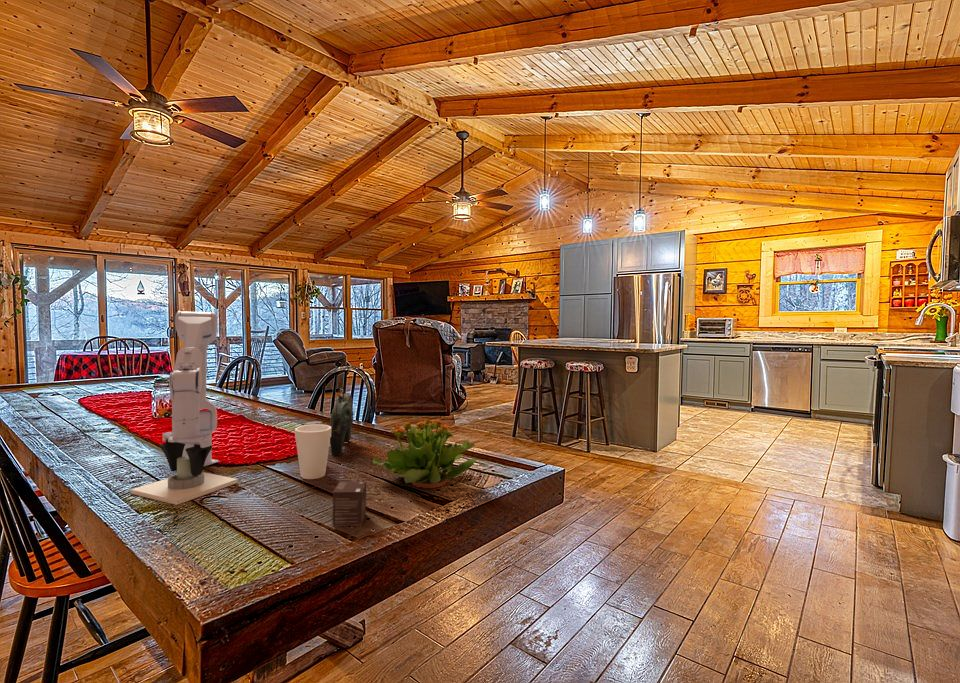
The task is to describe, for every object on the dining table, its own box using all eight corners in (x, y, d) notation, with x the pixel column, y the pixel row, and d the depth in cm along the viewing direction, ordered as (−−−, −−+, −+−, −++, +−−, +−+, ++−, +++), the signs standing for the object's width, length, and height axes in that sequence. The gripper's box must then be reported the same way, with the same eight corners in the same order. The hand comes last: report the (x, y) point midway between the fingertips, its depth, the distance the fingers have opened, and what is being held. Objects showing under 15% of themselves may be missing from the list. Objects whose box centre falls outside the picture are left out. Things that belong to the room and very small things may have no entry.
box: (338, 514, 102) (338, 481, 102) (366, 514, 102) (366, 481, 102) (332, 526, 96) (332, 491, 96) (361, 526, 96) (362, 491, 96)
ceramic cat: (337, 440, 165) (338, 383, 164) (356, 439, 165) (357, 384, 164) (325, 456, 145) (326, 392, 144) (346, 456, 146) (347, 392, 145)
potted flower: (440, 462, 140) (441, 405, 140) (496, 483, 124) (498, 418, 123) (367, 481, 123) (368, 416, 122) (421, 508, 106) (423, 432, 105)
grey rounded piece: (173, 485, 114) (173, 458, 114) (189, 480, 118) (189, 454, 118) (183, 487, 113) (183, 461, 112) (199, 482, 116) (199, 457, 116)
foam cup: (288, 474, 127) (288, 427, 126) (320, 467, 133) (320, 422, 133) (305, 483, 120) (305, 434, 120) (337, 475, 127) (337, 428, 126)
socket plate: (131, 493, 111) (130, 481, 111) (194, 473, 126) (194, 463, 126) (176, 504, 105) (176, 491, 105) (237, 482, 120) (237, 471, 120)
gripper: (149, 418, 114) (150, 473, 114) (190, 424, 108) (191, 481, 109) (178, 413, 120) (178, 465, 121) (218, 418, 115) (218, 473, 115)
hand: (186, 472), depth 115 cm, fingers open, 7 cm apart
